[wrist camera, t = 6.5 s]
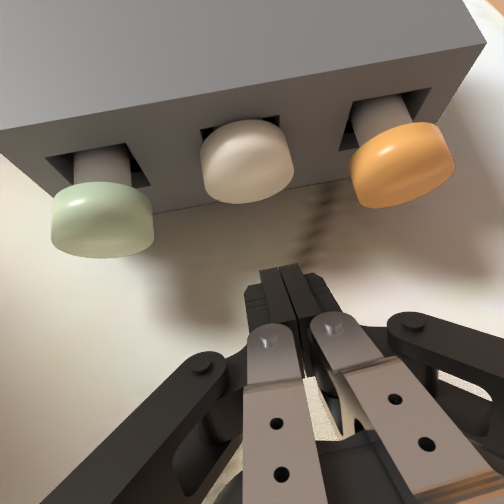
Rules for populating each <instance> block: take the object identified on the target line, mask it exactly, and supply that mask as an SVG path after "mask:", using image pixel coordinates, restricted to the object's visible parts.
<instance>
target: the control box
mask: <svg viewBox="0 0 504 504" xmlns="http://www.w3.org/2000/svg"><path fill="white" fill-rule="evenodd" d="M486 44H487V42H486V40H485V38H484V37H483V35H482V33H481V31H480V30H479V28H478V26H477V25H476V23H475V21H474V19H473V18H472V16H471V14H470V13H469V11H468V9H467V8H466V6H465V4H464V2H463V1H462V0H0V153H1V154H2V155H3V156H5V157H6V158H7V159H8V160H9V161H10V162H12V163H13V164H14V165H15V166H16V167H18V168H19V169H20V170H21V171H22V172H23V173H25V174H26V175H27V176H28V177H29V178H31V179H32V180H33V181H34V182H35V183H36V184H38V185H39V186H40V187H41V188H42V189H43V190H45V191H46V192H47V193H48V194H49V195H51V196H52V197H53V198H54V197H55V195H56V194H57V193H59V192H60V191H61V190H63V189H65V188H67V187H70V186H73V185H74V152H77V151H82V150H88V149H93V148H99V147H104V146H110V145H115V144H121V143H126V144H127V146H128V148H129V153H130V160H134V159H136V161H137V162H138V164H139V166H140V167H141V169H142V171H138V172H133V173H131V183H132V188H135V189H137V190H139V191H141V192H142V193H144V194H145V195H146V196H147V197H148V198H149V200H150V201H151V205H152V214H155V213H160V212H166V211H171V210H177V209H182V208H187V207H193V206H198V205H204V204H209V203H214V202H220V201H218V200H216V199H214V198H213V197H211V196H210V195H209V194H208V193H207V192H206V189H205V185H204V179H203V172H202V166H201V159H200V149H201V146H202V144H203V142H204V141H205V139H206V138H207V137H208V136H209V135H210V134H211V133H212V132H214V131H213V127H215V126H220V125H226V124H229V123H232V122H236V121H240V120H252V119H259V118H263V121H267V122H270V123H272V124H274V125H276V126H278V127H279V128H280V129H281V130H282V131H283V133H284V135H285V137H286V141H287V145H288V148H289V152H290V156H291V160H292V164H293V167H294V174H293V177H292V179H291V181H290V182H289V184H288V185H287V186H286V187H285V188H284V189H282V190H285V189H290V188H296V187H301V186H306V185H312V184H317V183H323V182H328V181H333V180H339V179H344V178H350V174H349V170H348V165H349V162H350V159H351V158H352V156H353V155H354V153H355V152H356V151H357V150H358V149H359V148H360V146H359V144H358V141H357V138H356V135H355V132H352V133H346V134H343V133H344V130H345V126H346V123H347V121H348V120H350V118H349V113H350V109H351V106H352V102H353V101H358V100H364V99H369V98H375V97H380V96H386V95H391V94H397V93H400V94H401V96H402V98H403V101H404V103H405V105H406V108H407V110H408V112H409V115H410V117H411V119H412V122H413V123H416V122H426V123H431V124H434V125H435V123H436V122H437V120H438V119H439V117H440V116H441V114H442V113H443V111H444V109H445V108H446V106H447V105H448V103H449V102H450V100H451V98H452V97H453V95H454V94H455V92H456V91H457V89H458V87H459V86H460V84H461V83H462V81H463V80H464V78H465V77H466V75H467V73H468V72H469V70H470V69H471V67H472V66H473V64H474V62H475V61H476V59H477V58H478V56H479V55H480V53H481V52H482V50H483V48H484V47H485V45H486Z"/></svg>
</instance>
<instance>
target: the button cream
mask: <svg viewBox="0 0 504 504" xmlns="http://www.w3.org/2000/svg"><path fill="white" fill-rule="evenodd" d="M213 131H214V132H212V133H211V134H210V135H209V136H208V137H207V138H206V139H205V141H204V142H203V144H202V146H201V149H200V159H201V166H202V172H203V179H204V185H205V189H206V192H207V193H208V194H209V195H210V196H211V197H213V198H214V199H216V200H218V201H221V202H226V203H234V204H242V203H251V202H256V201H259V200H263V199H266V198H268V197H270V196H273V195H274V194H276V193H278V192H280V191H281V190H282V189H284V188H285V187H286V186H287V185H288V184H289V182H290V181H291V179H292V177H293V174H294V167H293V164H292V160H291V156H290V152H289V148H288V145H287V141H286V137H285V135H284V133H283V131H282V130H281V129H280V128H279V127H278V126H276V125H274V124H272V123H270V122H267V121H263V118H259V119H252V120H240V121H236V122H232V123H229V124H226V125H220V126H215V127H213Z"/></svg>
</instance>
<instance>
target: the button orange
mask: <svg viewBox="0 0 504 504" xmlns="http://www.w3.org/2000/svg"><path fill="white" fill-rule="evenodd" d="M349 118H350V121H351V124H352V127H353V129H354V132H355V135H356V138H357V141H358V144H359V146H360V148H359V149H358V150H357V151H356V152H355V153H354V155H353V156H352V158H351V159H350V162H349V165H348V170H349V174H350V177H351V180H352V183H353V186H354V189H355V192H356V195H357V198H358V201H359V203H360V204H361V205H363V206H365V207H368V208H385V207H391V206H396V205H400V204H403V203H406V202H409V201H412V200H414V199H417V198H419V197H421V196H423V195H425V194H427V193H429V192H431V191H432V190H434V189H436V188H437V187H439V186H440V185H441V184H443V183H444V182H445V181H446V180H447V179H448V178H449V177H450V176H451V175H452V173H453V172H454V170H455V166H456V164H455V161H454V159H453V157H452V155H451V152H450V150H449V148H448V146H447V144H446V142H445V139H444V137H443V135H442V133H441V131H440V129H439V128H438V127H437V126H436V125H434V124H431V123H426V122H416V123H413V122H412V119H411V117H410V115H409V112H408V110H407V108H406V105H405V103H404V101H403V98H402V96H401V94H400V93H397V94H391V95H386V96H380V97H375V98H369V99H364V100H358V101H353V102H352V106H351V109H350V113H349Z"/></svg>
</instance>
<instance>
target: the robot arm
mask: <svg viewBox="0 0 504 504" xmlns="http://www.w3.org/2000/svg"><path fill="white" fill-rule="evenodd" d="M259 273H260V279H261V283H260V284H255V285H250V286H248V287H247V289H246V291H245V293H244V298H245V305H246V312H247V319H248V326H249V336H248V338H247V345H246V346H245V347H244V348H243V349H242V350H241V351H239V352H238V353H236V354H234V355H232V356H230V357H228V358H226V359H225V358H224V357H223V355H221V354H220V353H217V352H213V351H206V352H201V353H197V354H195V355H193V356H191V357H189V358H188V359H187V360H185V361H184V362H183V363H182V364H181V365H180V366H179V367H178V368H177V369H176V370H175V371H174V372H173V373H172V374H171V375H170V376H169V377H168V378H167V379H166V380H165V381H164V382H163V383H162V384H161V385H160V386H159V387H158V388H157V389H156V390H155V391H154V392H153V393H152V394H151V395H150V396H149V397H148V398H147V399H146V400H145V401H144V402H143V403H142V404H141V405H140V406H139V407H138V408H137V409H136V410H134V411H133V412H132V413H131V414H130V415H129V416H128V417H127V418H126V419H125V420H124V421H123V422H122V423H121V424H120V425H119V426H118V427H117V428H116V429H115V430H114V431H113V432H112V433H111V434H110V435H109V436H108V437H107V438H106V439H105V440H104V441H103V442H102V443H101V444H100V445H99V446H98V447H97V448H96V449H95V450H94V451H93V452H92V453H91V454H90V455H89V456H88V457H87V458H86V459H85V460H84V461H83V462H82V463H81V464H80V465H79V466H78V467H77V468H76V469H74V470H73V471H72V472H71V473H70V474H69V475H68V476H67V477H66V478H65V479H64V480H63V481H62V482H61V483H60V484H59V485H58V486H57V487H56V488H55V489H54V490H53V491H52V492H51V493H50V494H49V495H48V496H47V497H46V498H45V499H44V500H43V501H42V502H41V503H40V504H201V503H202V501H203V500H204V498H205V497H206V495H207V494H208V492H209V491H210V489H211V488H212V486H213V485H214V483H215V482H216V480H217V479H218V477H219V476H220V474H221V473H222V471H223V470H224V468H225V467H226V465H227V464H228V462H229V461H230V459H231V458H232V456H233V455H234V453H235V452H236V450H237V449H238V447H239V446H240V444H241V443H242V441H243V470H242V471H241V472H240V473H239V474H237V475H236V476H235V477H234V478H233V479H232V480H231V481H230V482H229V483H228V484H227V485H226V486H225V488H224V489H223V490H222V491H221V493H220V494H219V495H218V497H217V498H216V500H215V501H214V503H213V504H504V339H503V338H500V337H497V336H493V335H490V334H487V333H484V332H481V331H477V330H474V329H471V328H468V327H464V326H461V325H458V324H455V323H452V322H448V321H445V320H442V319H439V318H436V317H432V316H429V315H426V314H422V313H418V312H401V313H397V314H395V315H393V316H391V317H390V318H389V319H388V321H387V327H369V326H362V325H359V324H358V323H357V321H356V320H355V319H354V318H353V317H352V316H351V315H349V314H346V313H343V312H342V310H341V308H340V307H339V305H338V303H337V302H336V300H335V298H334V297H333V295H332V293H331V292H330V290H329V288H328V287H327V285H326V283H325V281H324V280H323V278H322V277H320V276H318V275H316V274H315V273H309V274H304V275H303V273H302V271H301V269H300V267H299V265H298V264H297V263H295V264H290V265H285V266H280V267H279V270H278V267H276V268H271V269H266V270H261V271H259ZM304 370H305V373H306V376H307V378H308V377H313V376H315V378H316V380H317V384H318V392H319V397H320V399H321V402H322V404H323V406H324V408H325V411H326V413H327V415H328V417H329V419H330V422H331V424H332V426H333V428H334V431H335V433H336V435H337V437H338V439H339V441H316V440H315V438H314V433H313V428H312V423H311V418H310V413H309V408H308V403H307V398H306V394H305V389H304V384H303V378H305V374H304ZM439 370H441V371H443V372H446V373H448V374H451V375H453V376H455V377H458V378H460V379H463V380H465V381H468V382H470V383H473V384H475V385H477V386H479V387H481V388H483V389H484V390H485V391H486V392H487V393H488V394H489V395H490V396H491V398H492V401H493V402H492V401H489V400H486V399H484V398H482V397H479V396H477V395H475V394H472V393H470V392H468V391H465V390H463V389H461V388H458V387H456V386H453V385H451V384H449V383H446V382H444V381H442V380H439V379H438V371H439Z"/></svg>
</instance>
